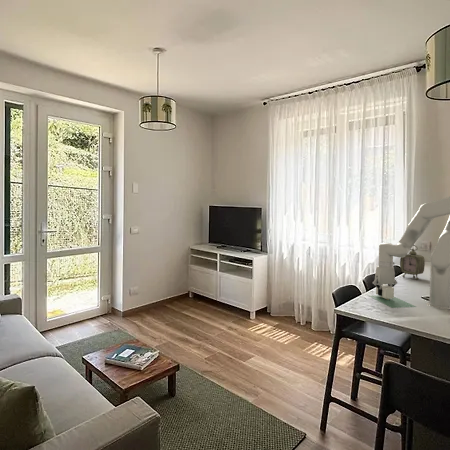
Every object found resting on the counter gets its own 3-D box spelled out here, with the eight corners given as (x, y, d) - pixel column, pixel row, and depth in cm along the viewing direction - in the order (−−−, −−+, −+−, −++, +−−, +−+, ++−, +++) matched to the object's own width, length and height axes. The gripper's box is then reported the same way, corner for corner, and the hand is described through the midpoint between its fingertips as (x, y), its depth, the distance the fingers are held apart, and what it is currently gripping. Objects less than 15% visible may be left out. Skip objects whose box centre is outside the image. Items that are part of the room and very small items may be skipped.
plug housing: (383, 293, 206) (384, 283, 206) (393, 298, 196) (394, 287, 196) (375, 293, 206) (376, 283, 205) (385, 298, 196) (385, 288, 196)
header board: (390, 296, 208) (390, 289, 208) (416, 308, 184) (416, 300, 184) (368, 297, 206) (368, 289, 206) (391, 310, 183) (392, 301, 182)
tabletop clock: (399, 277, 262) (400, 244, 260) (407, 275, 266) (408, 243, 265) (418, 280, 249) (419, 246, 248) (425, 279, 254) (426, 245, 252)
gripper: (395, 262, 205) (394, 293, 206) (368, 263, 203) (367, 294, 204) (403, 265, 197) (402, 296, 198) (375, 265, 195) (374, 297, 196)
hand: (384, 294), depth 201 cm, fingers closed on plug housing, 4 cm apart
